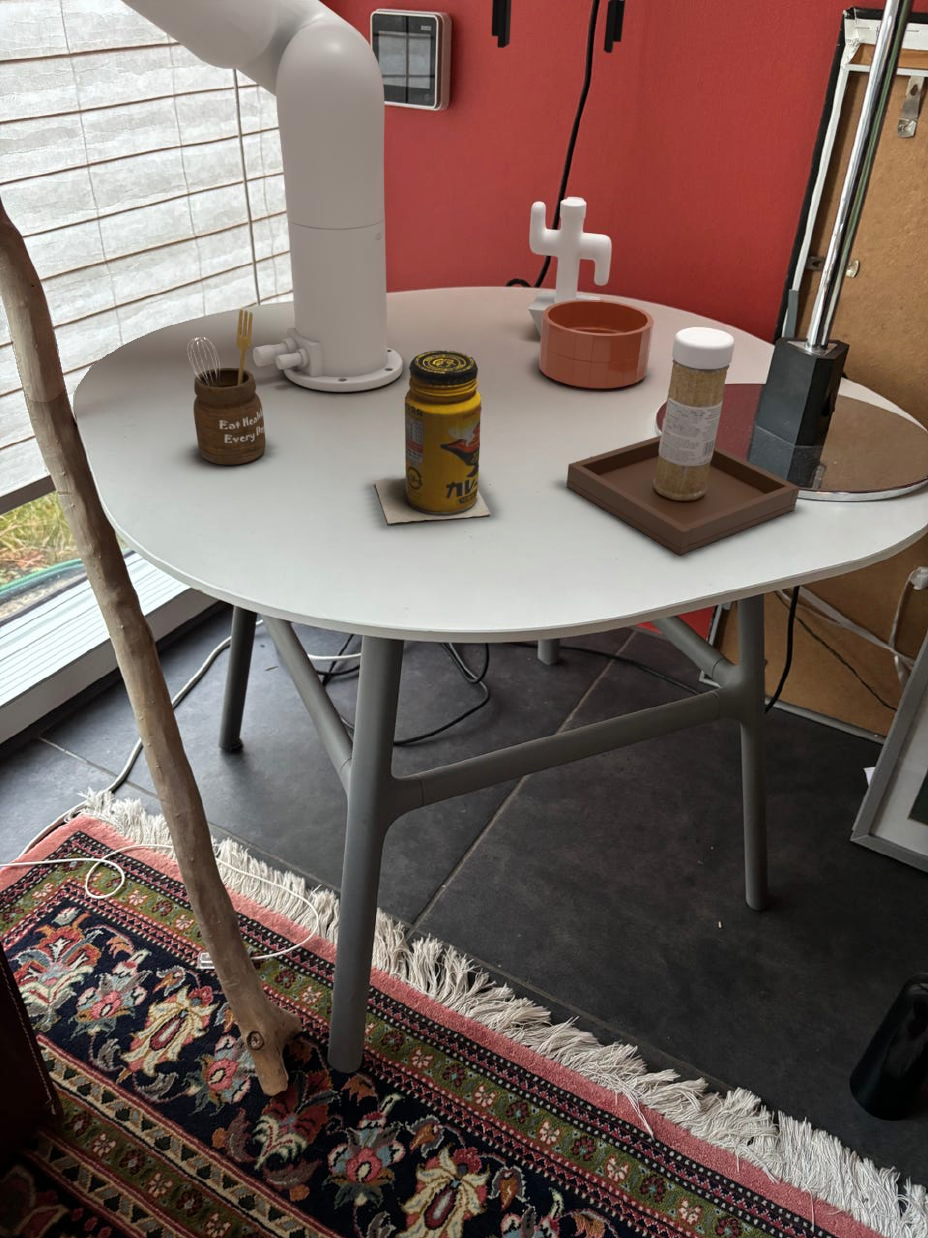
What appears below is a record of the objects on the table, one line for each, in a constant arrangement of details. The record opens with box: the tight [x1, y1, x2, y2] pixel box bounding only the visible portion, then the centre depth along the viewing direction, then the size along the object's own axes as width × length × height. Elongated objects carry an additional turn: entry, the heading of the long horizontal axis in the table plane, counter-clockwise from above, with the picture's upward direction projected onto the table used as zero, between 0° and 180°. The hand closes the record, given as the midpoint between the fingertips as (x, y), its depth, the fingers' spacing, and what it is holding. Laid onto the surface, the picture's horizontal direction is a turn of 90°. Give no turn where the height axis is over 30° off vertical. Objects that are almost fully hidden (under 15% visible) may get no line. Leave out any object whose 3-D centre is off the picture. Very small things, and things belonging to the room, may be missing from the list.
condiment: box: [373, 350, 492, 524], centre depth 78 cm, size 7×8×12 cm
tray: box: [566, 435, 801, 556], centre depth 82 cm, size 14×14×2 cm
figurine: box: [528, 196, 613, 337], centre depth 112 cm, size 7×9×15 cm
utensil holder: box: [186, 308, 266, 466], centre depth 85 cm, size 6×6×12 cm
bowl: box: [538, 299, 655, 390], centre depth 105 cm, size 12×12×6 cm
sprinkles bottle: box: [653, 326, 735, 501], centre depth 79 cm, size 5×5×13 cm
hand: (555, 48), depth 89 cm, fingers open, 9 cm apart
